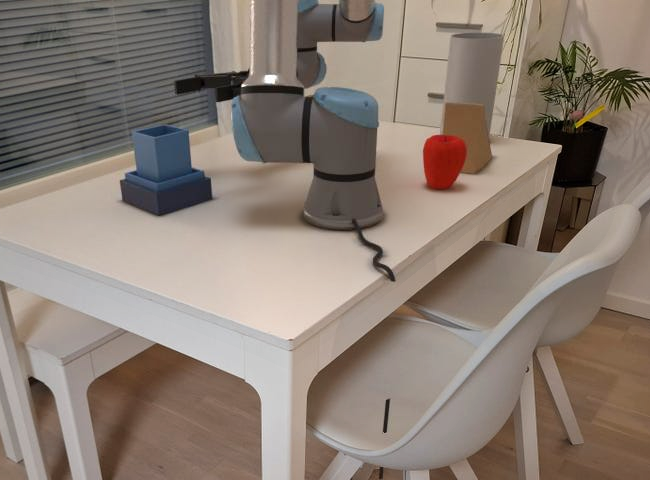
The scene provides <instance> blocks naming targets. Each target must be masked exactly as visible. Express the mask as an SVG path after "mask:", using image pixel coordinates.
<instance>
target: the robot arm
mask: <svg viewBox="0 0 650 480" xmlns="http://www.w3.org/2000/svg"><path fill="white" fill-rule="evenodd" d="M338 2H339V3H319V0H249V67H248V69H247V70H240V71H235V70H232V71H228V72H218V73H203V74H202V73H201V74H194V75H193V77H187V78H182V79H176V80H173V85H174V94H175V95H183V94H188V93H193V92H196V93H201V90H203V89H206V90H207V89H214V96H215V103H222V102H227V101H231V110H230V119H231V130H232V136H233V140H234V144H235V147H236V151H237V153H238V155H239V156H240V158H242V159H243V160H244V161H245V162H255V163H262V164H267V163H274V164H275V163H276V164H277V163H278V164H313V172H312V173H313V174H312V176H313V177H312V181H311V183H310V186H309V189H308V193H307V196H306V200H305V202H304V204H303V219H304V220H305V221H306V222H307V223H309V224H311V225H312V226H315V227H318V228H322V229H326V230H335V231H337V230H338V231H351V230H355V231H356V232H357V235H358V237H359V239H360V241H361V242H362V244H364V245H365V246H368V247H370V248H373V249H375V250H376V251H377V253H376V254H375V255H374V256H373V258H372V264H373V265H374V266H375V267H377V268H379V269H381V270H384V271H385V272H386V273H387V274H388V277H389V279H390V282H392V283H394V282H396V278H395V274H394V272H393V270H392V269H391V268H390V267H389V266H388V265H387V264H385V263H381V262H379V261H378V260H379V259H380V258H381V257H382V255H383V253H384V250H383V248H382V247H381V246H380V245H379V244H376V243H374V242H371V241H369V240H368V239H366V237H364V234H363V231H362V229H365V228H369V227H372V226H374V225H376V224H377V223H379V222H380V221H381V220H382V218H383V203H382V200H381V196H380V192H379V188H378V185H377V180H376V165H377V146H378V145H377V143H378V128H379V127H380V121H379V103H378V101H377V99H376V98H375V97H374V96H373V95H371V94H369V93H368V92H364V91H363V90H362V91H361V90H359V89H354V88H349V87H341V86H340V87H339V86H321V87H318V88H316V89H315V90H314V93H313V94H312V95H313V97H305V90H307V89H310V88H312V87H315V86H318V85H320V84H322V82H324V80H325V78H326V76H327V69H328V67H327V64H326V59H325V57H324V55H322V53H320V52H318V43H366V42H378V41H380V40H381V39H382V37H383V33H384V20H385V19H384V18H385V5H384V4H383V3H379V2H378V3H377V2H376V0H338ZM390 403H391V398H387V399H385V403H384V412H383V413H384V414H383V424H382V433H383V432H384V433H386V432H387V433H388V425H389V415H390V406H391V405H390ZM384 467H385V466H384ZM384 467H380V466H379V470H378V471H379V472H378V479H379V480H383V479H384Z"/></svg>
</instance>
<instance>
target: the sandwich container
mask: <svg viewBox="0 0 650 480" xmlns="http://www.w3.org/2000/svg"><path fill="white" fill-rule="evenodd" d="M443 135H451V136H456V137H459V138H461V139H463V140H464V141H465V144H466V148H467V155H466V160H465V163H464V165H463V168H462V170H461V172H460V173H462V174H463V173H464V174H471V175H475V174H476V173H477V172H478V171H480V170H481V169H483V167H484V166H485V165H486V164H487V163H488V162H489V161H490V160H492V159H493V153H492V147H491V142H490V135H489V136H488V130H487V124H486V117H485V108H484V105H482V104H471V103H454V102H447V103H446V105H445V115H444V126H443Z"/></svg>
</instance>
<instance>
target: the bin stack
mask: <svg viewBox="0 0 650 480" xmlns="http://www.w3.org/2000/svg"><path fill="white" fill-rule="evenodd" d="M205 174H206V173H205V170H202V169H199V168H195V167H193V166H192V174H189V175H186V176H182V177H179V178H175V179H172V180H168V181H165V182H161V183H158V184H157V183H155V182H152V181H149V180H146V179H143V178H141V177H138V176H137V170H136V169H134V170H132V171H128V172H125V173H124V178H123V179H119V185H120V186H119V187H120V193H121V200H122V202H124V203H126V204H129V205H131V206H134V207H136V208H139V209H141V210H144V211H147V212H148V213H151V214H154V215H156V216H158V217H159V216H163V215H166V214H169V213H173V212H176V211H178V210H183V209H185V208H188V207H191V206H194V205H197V204H200V203H204V202H206V201H210V200H213V188H212V178H211V177H209V176H206V175H205Z"/></svg>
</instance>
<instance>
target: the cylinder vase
mask: <svg viewBox="0 0 650 480" xmlns="http://www.w3.org/2000/svg"><path fill="white" fill-rule="evenodd" d="M504 40H505V34H502V33H498V32H497V33H496V32H460V33H453V34H451V35H450V39H449V46H448V56H447V66H446V74H445V75H446V76H445V82H444V83H445V84H444V93H443V102H442V109H441V119H440V129H439V135H443V126H444V115H445V105H446V103H447V102H454V103H471V104H482V105H484V108H485V117H486V124H487V130H488V136H489V137H490V135H491V128H492V121H493V116H494V115H493V114H494V108H495V100H496V95H497V87H498V82H499V75H500V68H501V61H502V54H503V46H504Z"/></svg>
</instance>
